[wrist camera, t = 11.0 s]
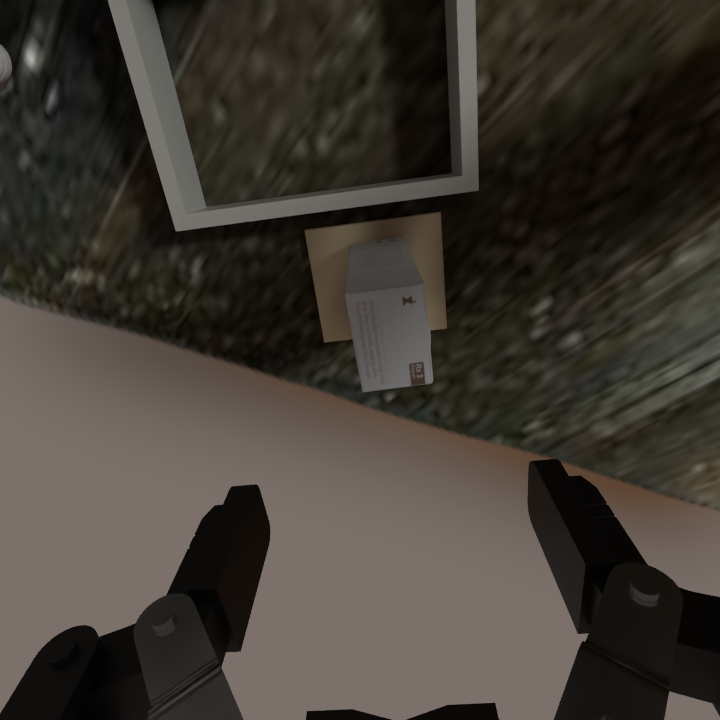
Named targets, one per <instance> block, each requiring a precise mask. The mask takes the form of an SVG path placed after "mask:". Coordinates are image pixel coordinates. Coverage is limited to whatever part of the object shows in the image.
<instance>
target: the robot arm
mask: <svg viewBox="0 0 720 720" xmlns="http://www.w3.org/2000/svg"><path fill="white" fill-rule="evenodd" d="M528 475H529V476H528V511H529V516H530V520H531V523H532V526H533V528H534V531H535V533H536V535H537V538H538V540H539V542H540V544H541V547H542V549H543V552H544V554H545V557H546V559H547V561H548V564H549V566H550V568H551V571H552V573H553V576H554V578H555V580H556V583H557V585H558V587H559V590H560V592H561V595H562V597H563V599H564V602H565V604H566V606H567V609H568V611H569V614H570V616H571V618H572V621H573V623H574V625H575V628H576V630H577V633H578V634H582V633H583V634H584V633H589V634H588V637H587V639H586V641H585V642H584V641H583V642H582V643H581V645H580V647H579V650H578V653H577V655H576V658H575V661H574V664H573V667H572V669H571V672H570V675H569V678H568V681H567V683H566V686H565V690H564V692H563V695H562V698H561V701H560V703H559V706H558V709H557V712H556V715H555V718H554V720H664V718H665V712H666V706H667V701H668V694H669V691H670V692H674V693H678V694H681V695H685V696H688V697H692V698H696V699H699V700H703V701H706V702H710V703H713V705H714V706H715V709H716V710H717V712H718V714H719V715H720V597H716V596H711V595H706V594H701V593H696V592H692V591H688V590H685V589H682V588H679V587H678V586H677V585H676V584H675V582H674V581H673V580H672V579H671V578H669V577H668V576H667V575H666V574H664V573H663V572H661V571H659V570H658V569H656V568H654V567H651V566H648V564H647V563H646V562H645V560H644V559H643V557H642V556H641V554H640V553H639V551H638V550H637V548H636V547H635V545H634V544H633V542H632V541H631V539H630V538H629V536H628V535H627V533H626V532H625V530H624V528H623V527H622V525H621V524H620V522H619V521H618V519H617V518H616V517H615V516H614V513H613V512H612V510H611V509H610V507H609V506H608V505H607V504H606V501H605V500H604V498H603V497H602V495H601V494H600V492H599V490H598V489H597V488H596V487H595V486H594V485H592V484H591V483H590V482H589V481H587V480H586V479H584V478H583V477H582V476H568V474H567V473H566V471H565V469H564V467H563V466H562V464H561V462H560V461H559V460H558V459H549V460H538V461H530V463H529V473H528ZM269 542H270V524H269V520H268V516H267V513H266V509H265V506H264V502H263V499H262V496H261V492H260V489H259V487H258V485H244V486H233V487H231V488H230V490H229V492H228V494H227V497H226V499H225V501H224V504H223V505H216V506H214V507H213V508H212V509H211V510H210V511H209V512H208V513H207V514H206V515H205V516H204V517H203V518H202V520H201V522H200V524H199V526H198V529H197V531H196V533H195V537H194V538H193V539H192V541H191V544H190V548H189V549H188V550H187V552H186V554H185V557H184V559H183V561H182V563H181V565H180V567H179V569H178V571H177V574H176V576H175V578H174V580H173V582H172V584H171V586H170V589H169V591H168V593H167V595H166V596H164V597H162V598H160V599H158V600H156V601H155V602H153V603H152V604H151V605H149V606H148V607H147V608H146V609H145V610H144V611H143V613H142V614H141V615H140V617H139V618H138V620H137V622H136V623H135V624H133V625H131V626H128V627H126V628H123V629H120V630H117V631H114V632H112V633H109V634H106V635H103V636H101V637H99V636H98V634H97V632H96V631H95V629H94V628H92V627H90V626H86V625H83V626H76V627H72V628H70V629H67V630H65V631H64V632H62V633H60V634H58V635H57V636H55V637H54V638H53V639H51V640H50V641H49V642H48V643H47V644H46V645H45V646H44V647H43V648H42V649H41V650H40V652H38V654H37V655H36V657H35V658H34V660H33V661H32V663H31V665H30V666H29V668H28V670H27V671H26V673H25V674H24V676H23V678H22V679H21V681H20V682H19V684H18V686H17V687H16V689H15V691H14V692H13V694H12V695H11V697H10V699H9V701H8V702H7V704H6V705H5V707H4V708H3V710H2V712H1V713H0V720H243V718H242V716H241V713H240V710H239V708H238V706H237V703H236V701H235V699H234V696H233V694H232V692H231V689H230V687H229V684H228V682H227V680H226V677H225V675H224V673H223V670H222V668H221V667H222V663H223V660H224V657H225V653H226V652H238V651H241V648H242V644H243V640H244V636H245V632H246V629H247V625H248V621H249V618H250V614H251V610H252V606H253V603H254V599H255V595H256V591H257V588H258V584H259V580H260V577H261V573H262V569H263V565H264V561H265V558H266V554H267V550H268V547H269ZM306 720H391V719H387V718H383V717H379V716H375V715H372V714H368V713H364V712H360V711H356V710H353V709H348V710H326V711H307V715H306ZM407 720H499V719H498V714H497V710H496V705H495V703H485V704H484V703H483V704H462V705H461V704H460V705H446V706H444V707H441V708H438V709H435V710H432V711H430V712H427V713H424V714H421V715H418V716H416V717H413V718H410V719H407Z"/></svg>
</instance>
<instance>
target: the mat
mask: <svg viewBox="0 0 720 720" xmlns="http://www.w3.org/2000/svg"><path fill="white" fill-rule="evenodd" d="M305 237H306V242H307V248H308V253H309V259H310V265H311V270H312V276H313V282H314V287H315V293H316V298H317V304H318V310H319V315H320V321H321V327H322V332H323V338H324V342H333V341H342V340H351V339H352V333H351V328H350V322H349V317H348V311H347V306H346V301H345V291H346V277H347V265H348V253H349V246H350V245H352V244H358V243H364V242H371V241H378V240H384V239H392V238H399V237H402V238H404V240H405V242H406V244H407V246H408V249H409V251H410V253H411V255H412V257H413V260H414V262H415V264H416V266H417V268H418V270H419V272H420V274H421V276H422V279H423V281H424V283H425V292H426V302H427V313H428V324H429V328H430V330H439V329H447V322H446V303H445V284H444V265H443V246H442V227H441V212H432V213H425V214H417V215H410V216H402V217H395V218H387V219H380V220H372V221H364V222H357V223H349V224H342V225H334V226H327V227H319V228H312V229H305Z"/></svg>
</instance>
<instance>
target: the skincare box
mask: <svg viewBox="0 0 720 720" xmlns="http://www.w3.org/2000/svg"><path fill="white" fill-rule="evenodd" d="M345 301H346V306H347V311H348V317H349V322H350V328H351V333H352V339H353V344H354V350H355V355H356V361H357V366H358V372H359V377H360V382H361V386H362V392H369V391H376V390H383V389H391V388H399V387H407V386H415V385H423V384H431V383H432V382H433V373H432V361H431V349H430V346H431V335H430V328H429V324H428V313H427V302H426V292H425V283H424V281H423V279H422V276H421V274H420V272H419V270H418V268H417V266H416V264H415V262H414V260H413V257H412V255H411V253H410V251H409V249H408V246H407V244H406V242H405V240H404V238H402V237H399V238H392V239H384V240H378V241H371V242H364V243H358V244H352V245H350V246H349V253H348V265H347V277H346V291H345Z"/></svg>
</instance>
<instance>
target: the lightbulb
mask: <svg viewBox="0 0 720 720" xmlns="http://www.w3.org/2000/svg"><path fill="white" fill-rule="evenodd" d="M11 72H12V63H11V60H10V57H9V55H8V53H7V51H6V50H5V48H4V47H3V46H2V45H1V44H0V83H4V82H6V81H7V80H8V79H9V78H10V76H11Z"/></svg>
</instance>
